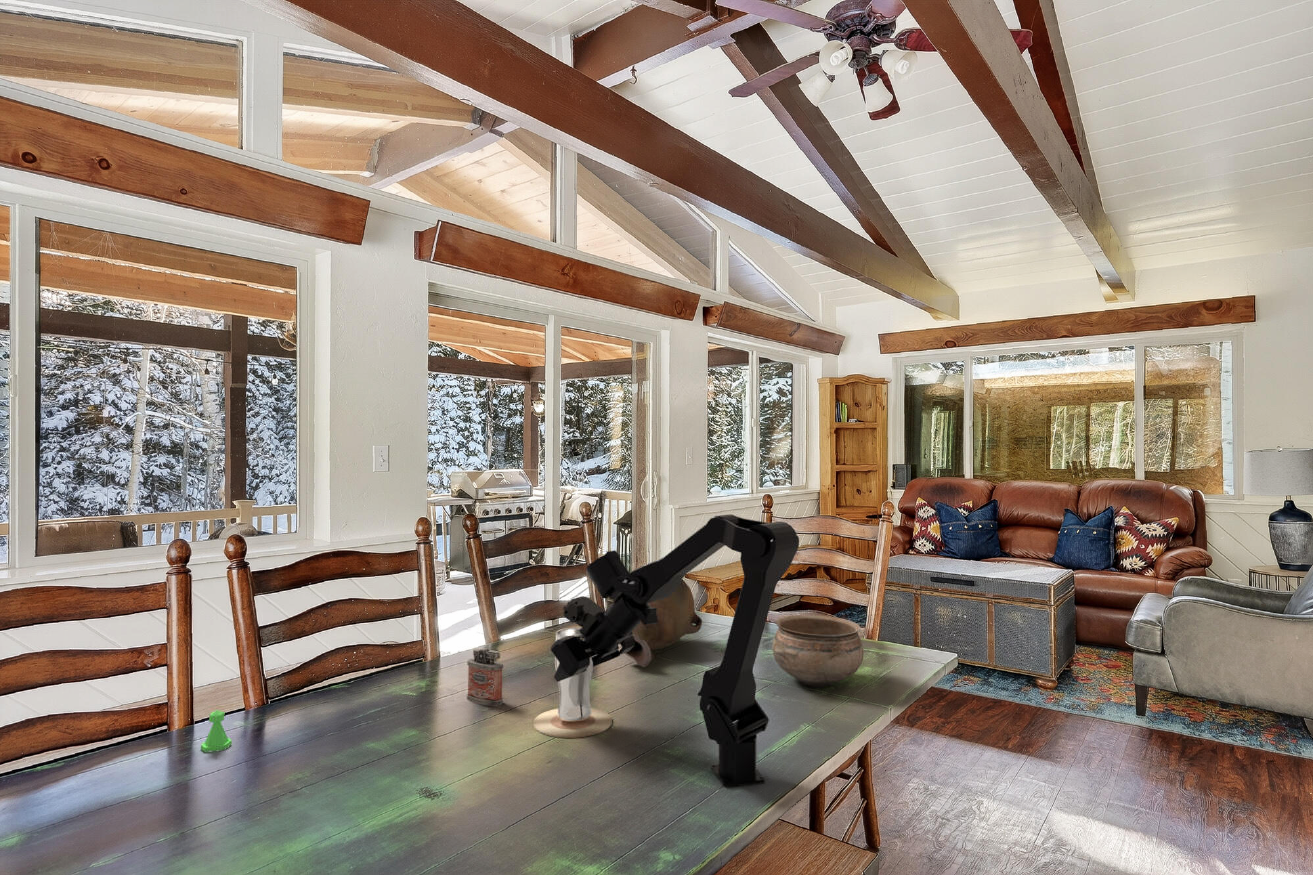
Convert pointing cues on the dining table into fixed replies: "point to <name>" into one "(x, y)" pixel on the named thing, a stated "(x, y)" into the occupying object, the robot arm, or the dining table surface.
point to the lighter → (485, 678)
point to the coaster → (572, 724)
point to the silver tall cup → (574, 686)
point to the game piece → (216, 734)
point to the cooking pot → (818, 648)
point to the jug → (665, 625)
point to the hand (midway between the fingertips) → (568, 674)
